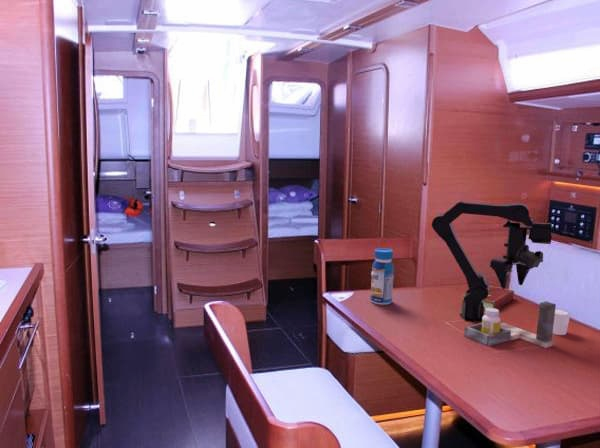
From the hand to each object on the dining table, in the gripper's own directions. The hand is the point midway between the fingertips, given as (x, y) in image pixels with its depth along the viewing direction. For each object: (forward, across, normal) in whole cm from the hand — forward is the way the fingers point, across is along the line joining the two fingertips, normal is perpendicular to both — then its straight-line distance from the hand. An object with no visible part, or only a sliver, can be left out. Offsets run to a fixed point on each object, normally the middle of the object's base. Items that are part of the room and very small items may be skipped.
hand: (512, 286), depth 183 cm
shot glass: (+13, +7, -13) cm, 20 cm away
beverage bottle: (+13, -22, +40) cm, 47 cm away
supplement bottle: (+13, -18, -6) cm, 23 cm away
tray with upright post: (+13, -14, -10) cm, 21 cm away
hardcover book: (+14, +15, +20) cm, 28 cm away
